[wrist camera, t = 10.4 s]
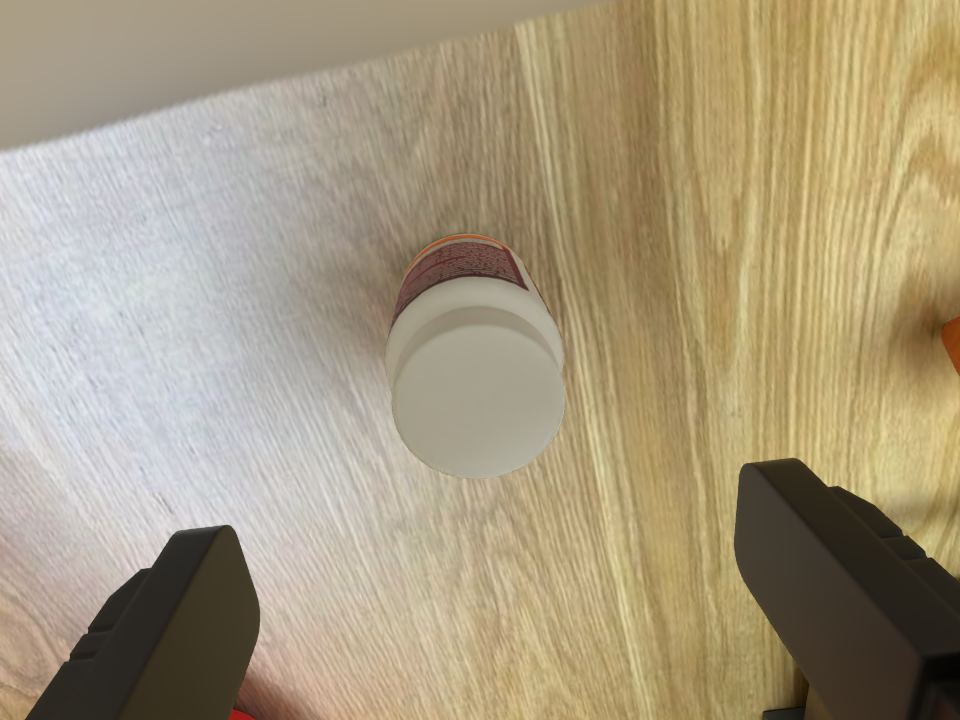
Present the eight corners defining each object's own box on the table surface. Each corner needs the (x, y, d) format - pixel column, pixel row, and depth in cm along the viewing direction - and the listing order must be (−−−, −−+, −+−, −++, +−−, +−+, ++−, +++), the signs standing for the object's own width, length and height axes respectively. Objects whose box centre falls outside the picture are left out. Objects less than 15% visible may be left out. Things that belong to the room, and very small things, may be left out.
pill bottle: (372, 303, 21) (329, 417, 13) (462, 201, 20) (472, 262, 12) (471, 383, 22) (484, 527, 15) (560, 293, 21) (625, 398, 14)
